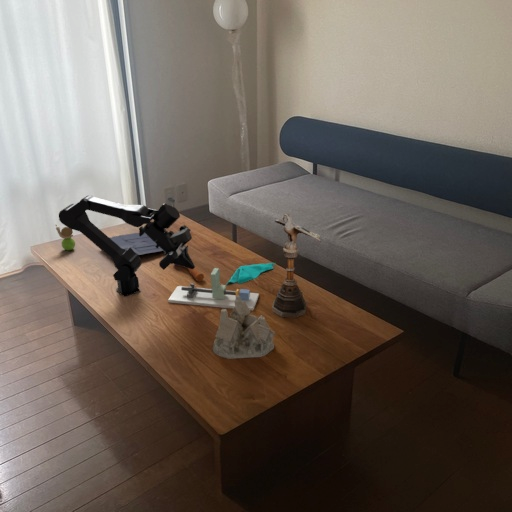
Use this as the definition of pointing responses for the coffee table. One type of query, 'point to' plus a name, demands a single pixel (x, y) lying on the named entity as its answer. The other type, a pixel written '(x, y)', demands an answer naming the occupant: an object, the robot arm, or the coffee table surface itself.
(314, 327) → the coffee table surface
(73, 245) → the snail figurine
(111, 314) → the coffee table surface
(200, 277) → the kendama
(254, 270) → the cloth
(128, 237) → the papers
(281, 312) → the bird statue
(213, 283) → the sage green stepped block
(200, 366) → the coffee table surface
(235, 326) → the ceramic cottage
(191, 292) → the white board with rod
